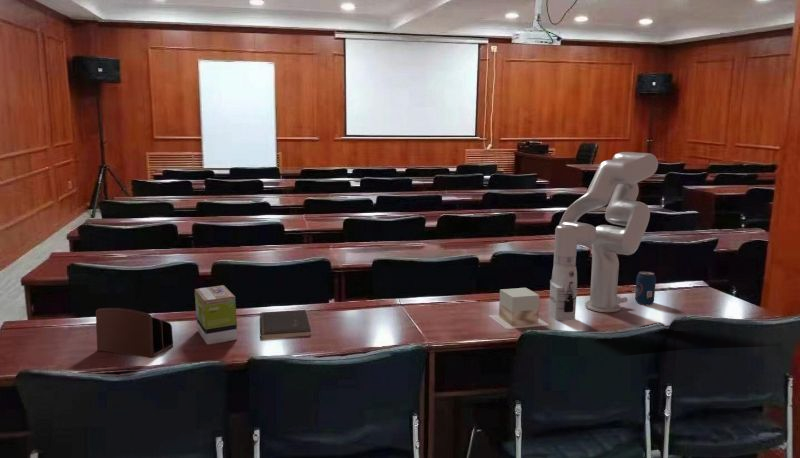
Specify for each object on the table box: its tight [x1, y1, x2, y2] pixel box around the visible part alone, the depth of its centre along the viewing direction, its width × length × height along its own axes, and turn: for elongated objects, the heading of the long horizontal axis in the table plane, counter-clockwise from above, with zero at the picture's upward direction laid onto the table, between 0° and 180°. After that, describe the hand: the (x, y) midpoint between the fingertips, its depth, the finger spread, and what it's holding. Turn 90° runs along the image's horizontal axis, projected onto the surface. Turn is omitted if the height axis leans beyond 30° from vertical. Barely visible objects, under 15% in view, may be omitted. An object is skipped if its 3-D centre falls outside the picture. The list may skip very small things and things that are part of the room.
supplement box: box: [548, 282, 577, 321], centre depth 219 cm, size 7×7×13 cm
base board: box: [488, 314, 550, 330], centre depth 215 cm, size 16×15×1 cm
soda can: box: [634, 270, 657, 305], centre depth 239 cm, size 7×7×12 cm
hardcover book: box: [259, 309, 312, 340], centre depth 210 cm, size 16×23×2 cm
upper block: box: [499, 287, 540, 312], centre depth 214 cm, size 10×10×5 cm
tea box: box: [194, 284, 238, 345], centre depth 199 cm, size 15×10×15 cm
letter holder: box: [95, 307, 174, 359], centre depth 187 cm, size 10×20×14 cm, turn 74°
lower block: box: [498, 303, 540, 326], centre depth 214 cm, size 10×10×5 cm
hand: (562, 308), depth 219 cm, fingers closed on supplement box, 8 cm apart
